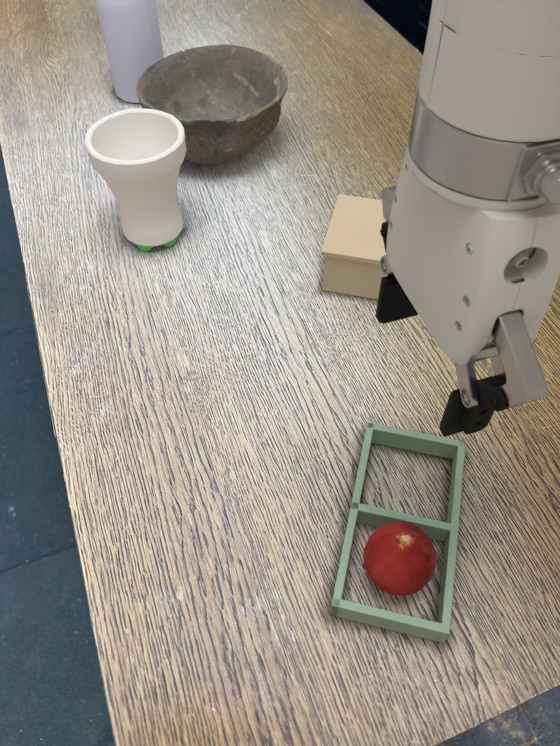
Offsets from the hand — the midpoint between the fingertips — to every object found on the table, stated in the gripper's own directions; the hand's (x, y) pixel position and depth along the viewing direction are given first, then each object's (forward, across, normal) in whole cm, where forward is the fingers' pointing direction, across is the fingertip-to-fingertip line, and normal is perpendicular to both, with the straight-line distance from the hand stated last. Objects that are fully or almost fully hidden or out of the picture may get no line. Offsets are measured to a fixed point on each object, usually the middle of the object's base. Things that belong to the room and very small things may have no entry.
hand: (428, 368), depth 43 cm
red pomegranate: (+22, -6, +2) cm, 22 cm away
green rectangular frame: (+21, -2, 0) cm, 21 cm away
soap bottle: (+22, +81, +8) cm, 84 cm away
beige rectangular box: (+21, +27, -16) cm, 38 cm away
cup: (+22, +45, +13) cm, 52 cm away
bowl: (+22, +62, 0) cm, 66 cm away
